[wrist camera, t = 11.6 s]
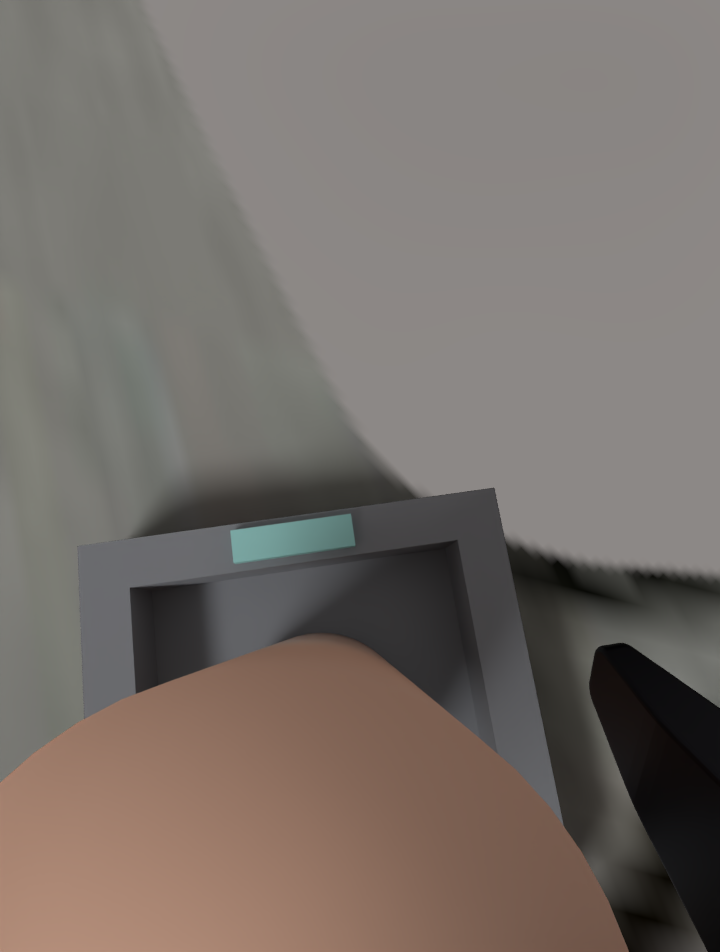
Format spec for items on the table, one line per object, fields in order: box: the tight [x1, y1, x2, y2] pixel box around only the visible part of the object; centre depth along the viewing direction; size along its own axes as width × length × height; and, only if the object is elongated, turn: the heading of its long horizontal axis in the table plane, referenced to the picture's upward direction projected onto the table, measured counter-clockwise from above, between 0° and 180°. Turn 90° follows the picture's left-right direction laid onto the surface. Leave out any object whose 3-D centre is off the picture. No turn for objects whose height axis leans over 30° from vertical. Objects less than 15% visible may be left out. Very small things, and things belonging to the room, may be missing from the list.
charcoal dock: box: [78, 488, 564, 826], centre depth 15 cm, size 11×11×3 cm
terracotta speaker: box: [0, 633, 629, 952], centre depth 10 cm, size 5×5×12 cm
